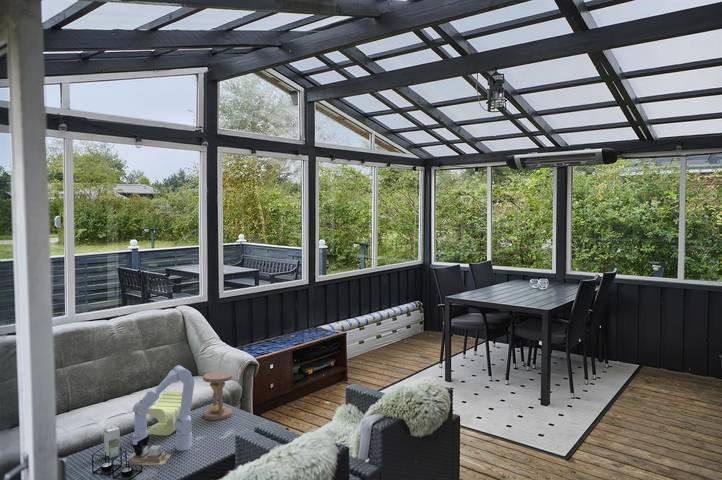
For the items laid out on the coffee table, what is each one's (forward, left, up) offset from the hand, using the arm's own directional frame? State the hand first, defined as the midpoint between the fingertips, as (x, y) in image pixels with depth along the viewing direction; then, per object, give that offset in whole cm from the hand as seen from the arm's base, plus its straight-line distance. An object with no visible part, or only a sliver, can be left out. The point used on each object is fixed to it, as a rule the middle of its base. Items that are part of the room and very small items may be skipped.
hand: (141, 453), depth 278 cm
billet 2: (0, +7, -3) cm, 8 cm away
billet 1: (0, 0, -3) cm, 3 cm away
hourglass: (-66, +19, -4) cm, 69 cm away
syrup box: (-5, -18, -4) cm, 19 cm away
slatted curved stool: (-40, -4, -4) cm, 40 cm away
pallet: (0, +3, -4) cm, 5 cm away
